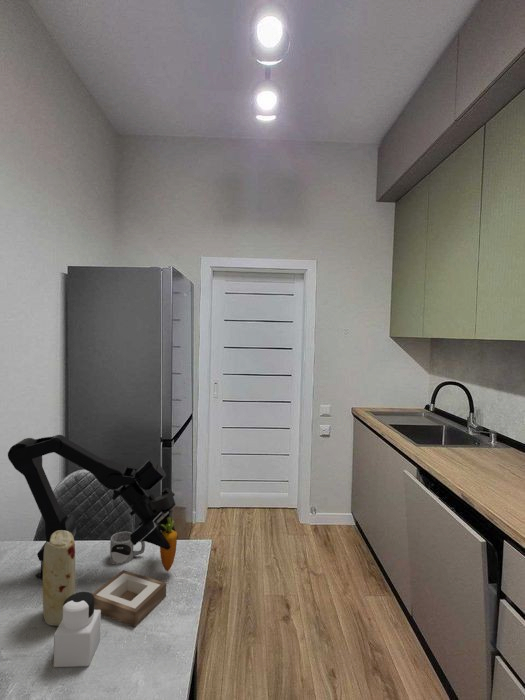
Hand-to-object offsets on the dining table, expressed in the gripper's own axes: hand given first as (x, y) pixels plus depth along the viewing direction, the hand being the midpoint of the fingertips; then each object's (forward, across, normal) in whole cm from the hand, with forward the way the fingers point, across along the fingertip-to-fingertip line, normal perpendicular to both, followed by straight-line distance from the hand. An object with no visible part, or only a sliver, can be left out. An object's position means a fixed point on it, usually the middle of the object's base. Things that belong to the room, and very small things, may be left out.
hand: (173, 543), depth 111 cm
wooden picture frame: (+2, -13, +11) cm, 17 cm away
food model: (-7, -21, +21) cm, 31 cm away
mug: (-5, +5, +18) cm, 20 cm away
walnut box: (+2, -13, +11) cm, 17 cm away
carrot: (+5, 0, +7) cm, 8 cm away
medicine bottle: (+1, -30, +13) cm, 33 cm away
